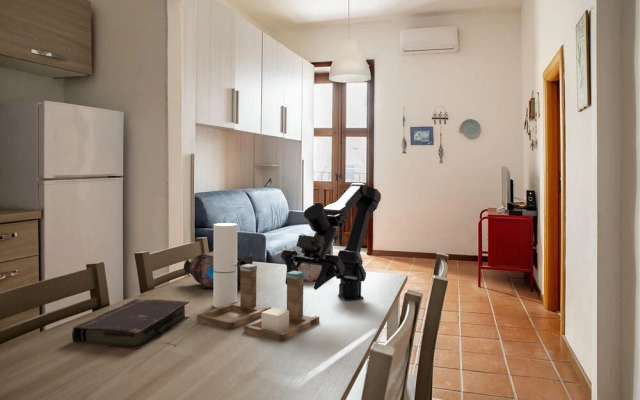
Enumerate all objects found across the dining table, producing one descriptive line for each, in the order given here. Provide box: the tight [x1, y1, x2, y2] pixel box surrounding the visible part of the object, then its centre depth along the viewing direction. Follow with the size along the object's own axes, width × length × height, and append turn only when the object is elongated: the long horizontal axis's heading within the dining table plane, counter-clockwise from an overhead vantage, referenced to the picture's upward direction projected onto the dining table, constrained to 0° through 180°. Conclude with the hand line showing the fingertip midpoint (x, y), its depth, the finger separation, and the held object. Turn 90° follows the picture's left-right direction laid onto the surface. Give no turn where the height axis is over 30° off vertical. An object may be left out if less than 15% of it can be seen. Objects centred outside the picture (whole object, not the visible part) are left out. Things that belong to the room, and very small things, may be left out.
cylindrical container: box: [212, 222, 238, 309], centre depth 147 cm, size 7×7×25 cm
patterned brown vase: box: [183, 251, 254, 292], centre depth 171 cm, size 16×16×25 cm
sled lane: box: [243, 271, 320, 343], centre depth 125 cm, size 17×12×14 cm
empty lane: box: [196, 264, 272, 330], centre depth 133 cm, size 17×12×14 cm
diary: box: [71, 298, 190, 350], centre depth 125 cm, size 19×25×5 cm
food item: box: [298, 263, 322, 283], centre depth 185 cm, size 14×8×10 cm, turn 152°
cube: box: [260, 307, 289, 333], centre depth 122 cm, size 5×5×5 cm
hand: (300, 286), depth 131 cm, fingers open, 9 cm apart
